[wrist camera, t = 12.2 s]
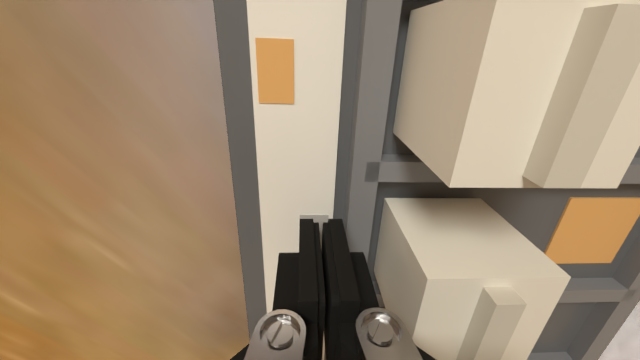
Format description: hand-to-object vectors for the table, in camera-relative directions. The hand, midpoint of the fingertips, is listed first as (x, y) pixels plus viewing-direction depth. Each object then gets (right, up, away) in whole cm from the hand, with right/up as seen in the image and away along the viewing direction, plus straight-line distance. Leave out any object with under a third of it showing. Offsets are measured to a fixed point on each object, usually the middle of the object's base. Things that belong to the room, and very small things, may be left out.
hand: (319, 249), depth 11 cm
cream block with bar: (+5, +6, -2) cm, 8 cm away
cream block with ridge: (+5, 0, +1) cm, 5 cm away
